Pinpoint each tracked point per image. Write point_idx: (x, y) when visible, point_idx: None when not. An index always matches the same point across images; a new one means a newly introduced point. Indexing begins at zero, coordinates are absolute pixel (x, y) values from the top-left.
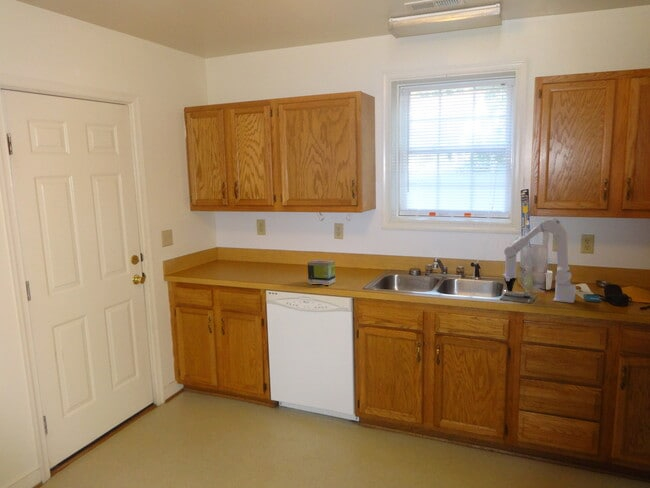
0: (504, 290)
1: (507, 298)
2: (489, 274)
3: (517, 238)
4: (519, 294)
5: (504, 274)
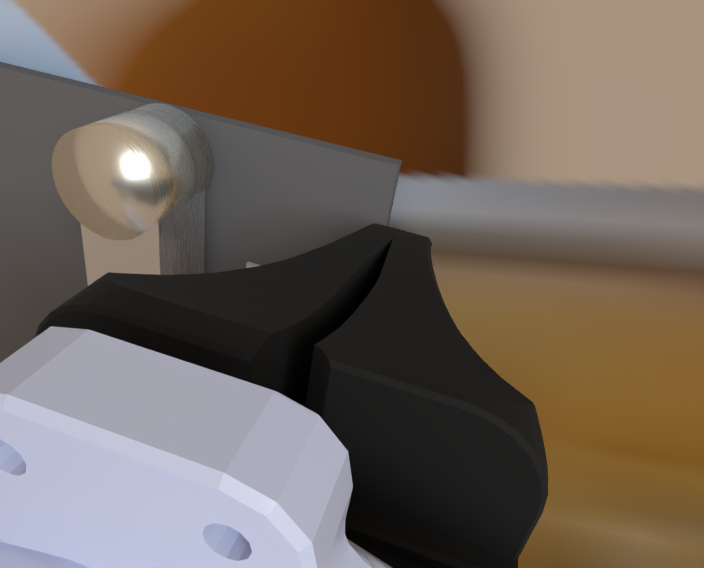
0: (71, 153)
1: None
2: None
3: None
4: None
5: (119, 549)
